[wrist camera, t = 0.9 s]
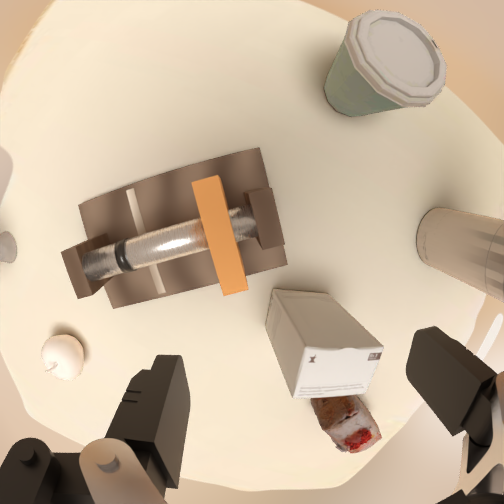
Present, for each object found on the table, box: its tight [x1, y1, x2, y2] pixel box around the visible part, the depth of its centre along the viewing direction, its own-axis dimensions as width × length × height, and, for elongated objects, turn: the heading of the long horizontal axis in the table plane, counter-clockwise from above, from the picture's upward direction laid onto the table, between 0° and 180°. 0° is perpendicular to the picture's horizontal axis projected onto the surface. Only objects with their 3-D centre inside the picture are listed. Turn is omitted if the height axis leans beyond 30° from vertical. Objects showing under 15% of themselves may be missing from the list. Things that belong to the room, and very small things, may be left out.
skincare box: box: [265, 289, 384, 399], centre depth 29 cm, size 8×6×15 cm
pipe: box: [82, 204, 258, 282], centre depth 25 cm, size 21×3×3 cm, turn 104°
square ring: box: [191, 175, 248, 296], centre depth 25 cm, size 2×9×9 cm, turn 14°
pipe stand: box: [61, 148, 288, 309], centre depth 28 cm, size 23×14×10 cm, turn 104°
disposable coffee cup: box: [324, 10, 446, 117], centre depth 23 cm, size 11×11×15 cm
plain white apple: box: [41, 335, 84, 380], centre depth 31 cm, size 7×7×8 cm
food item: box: [311, 395, 382, 453], centre depth 37 cm, size 14×8×10 cm, turn 38°
